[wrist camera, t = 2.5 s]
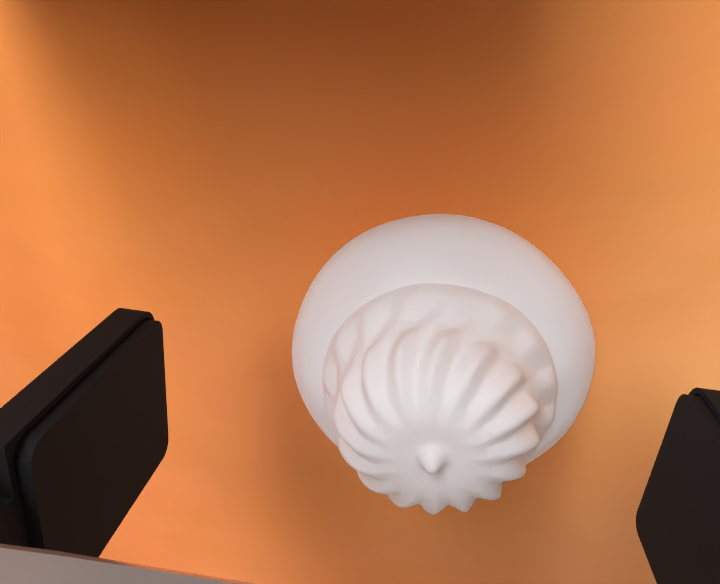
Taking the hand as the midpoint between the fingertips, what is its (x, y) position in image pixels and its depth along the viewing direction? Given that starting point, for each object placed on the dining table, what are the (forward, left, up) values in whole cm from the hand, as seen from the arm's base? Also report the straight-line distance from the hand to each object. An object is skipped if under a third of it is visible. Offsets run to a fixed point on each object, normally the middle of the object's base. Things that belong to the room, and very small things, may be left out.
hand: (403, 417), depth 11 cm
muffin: (-1, 0, -6) cm, 6 cm away
